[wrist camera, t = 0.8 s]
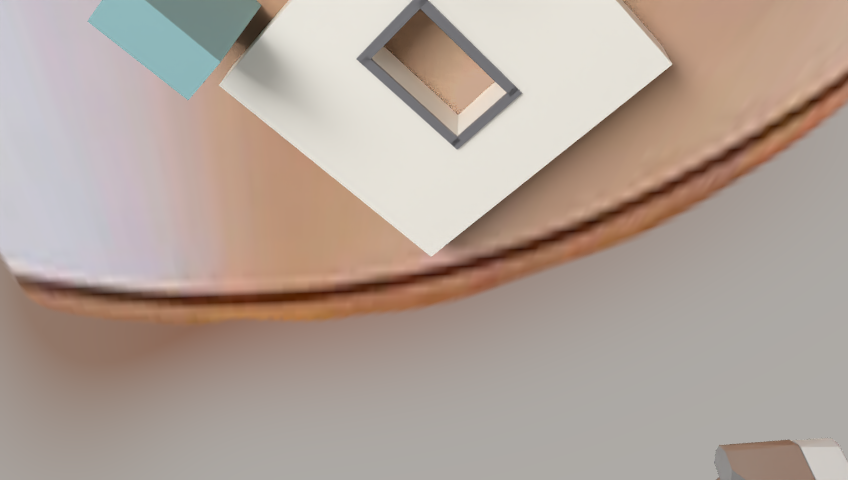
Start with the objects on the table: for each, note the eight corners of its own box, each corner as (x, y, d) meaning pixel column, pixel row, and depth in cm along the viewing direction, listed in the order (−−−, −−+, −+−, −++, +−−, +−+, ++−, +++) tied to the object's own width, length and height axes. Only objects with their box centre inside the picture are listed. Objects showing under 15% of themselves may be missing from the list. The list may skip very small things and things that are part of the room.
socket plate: (453, -192, 39) (452, -185, 36) (661, 45, 45) (673, 65, 43) (232, 66, 48) (218, 86, 45) (433, 232, 54) (430, 258, 52)
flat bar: (178, -68, 43) (117, -23, 36) (261, 5, 45) (220, 62, 38) (151, -30, 44) (87, 21, 37) (233, 39, 47) (188, 100, 39)
